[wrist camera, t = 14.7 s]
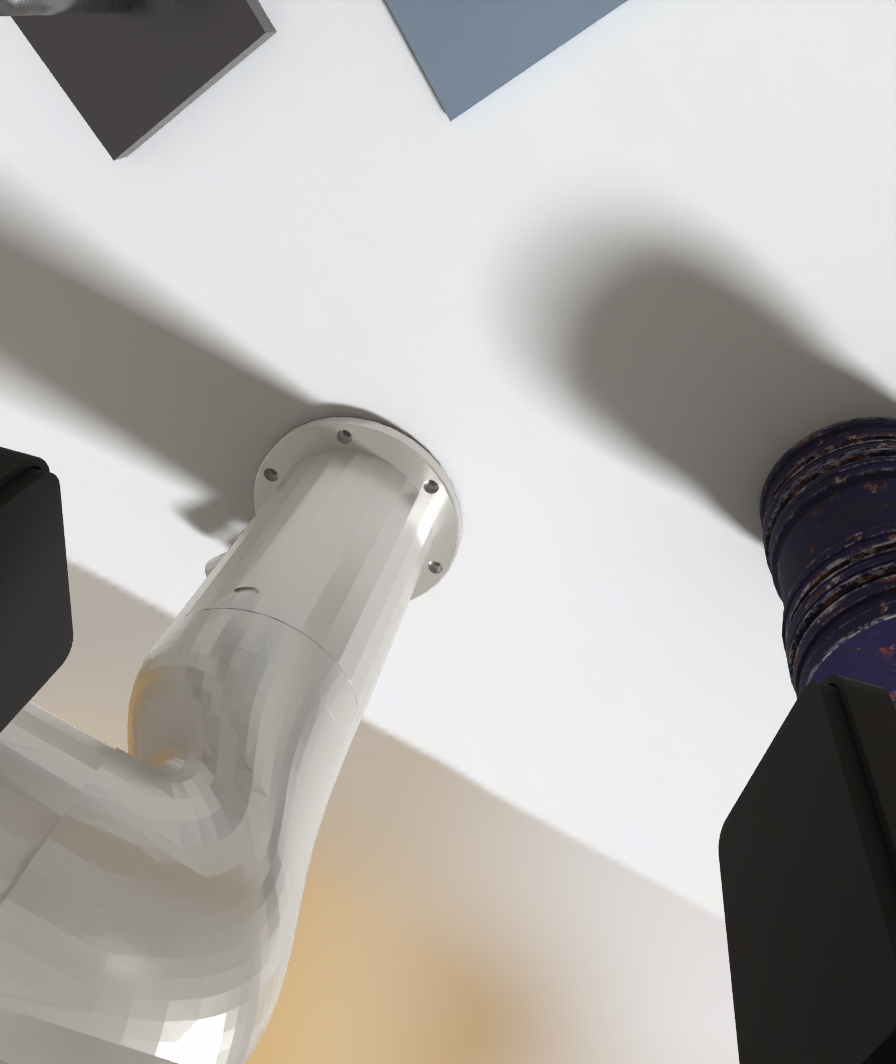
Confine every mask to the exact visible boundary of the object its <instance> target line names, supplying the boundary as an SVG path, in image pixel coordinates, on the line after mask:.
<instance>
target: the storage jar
mask: <svg viewBox="0 0 896 1064" xmlns="http://www.w3.org/2000/svg"><path fill="white" fill-rule="evenodd" d="M760 518H761V523H762V528H763V544H764V549H765V554H766V559H767V564H768V567H769V569H770V572H771V574H772V577H773V582H774V585H775V588H776V590H777V593H778V595H779V597H780V599H781V600H782V602H783V605H784V612H783V623H782V638H783V644H784V649H785V652H786V657H787V662H788V668H789V673H790V678H791V683H792V685H793V687H794V690H795V692H796V695H797V699H798V697H799V696H800V694H801V692H802V691H803V689H804V688H805V686H806V685H807V684H808V683H809V682H811V681H816V682H819V683H822V682H823V680H824V679H825V678H826V677H828V676H829V675H830V674H837V675H841V676H845V677H848V678H852V679H856V680H859V681H863V682H867V683H870V684H874V685H878V686H881V687H883V688H885V689H886V690H887V691H888V693H889V695H890V697H891V699H892V702H893V705H894V707H895V710H896V419H892V418H877V417H873V418H859V419H853V420H848V421H843V422H839V423H836V424H833V425H830V426H828V427H825V428H823V429H820V430H818V431H816V432H814V433H812V434H810V435H809V436H807V437H805V438H804V439H802V440H801V441H799V442H798V443H796V444H795V445H794V446H793V447H792V448H791V449H789V450H788V451H787V452H786V453H785V454H784V455H783V456H782V457H781V458H780V460H779V461H778V462H777V463H776V464H775V466H774V467H773V469H772V470H771V472H770V474H769V475H768V477H767V479H766V482H765V484H764V487H763V489H762V494H761V499H760Z"/></svg>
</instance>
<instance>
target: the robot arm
mask: <svg viewBox="0 0 896 1064" xmlns="http://www.w3.org/2000/svg"><path fill="white" fill-rule="evenodd" d="M346 430H347V431H348V432H349V433H348V432H347V431H346ZM350 433H351V434H350ZM431 480H433V481H435V482H433V481H431ZM253 498H254V509H255V516H254V517H253V519H252V520H251V521H250V523H249V524H248V525H247V527H246V528H245V529H244V530H243V532H242V533H241V534H240V536H239V537H238V538H237V539H236V541H235V542H234V543H233V545H232V546H231V547H230V548H229V550H228V551H227V552H225V553H223V554H221V555H219V556H217V557H215V558H213V559H211V560H209V561H208V562H207V564H206V567H205V573H206V576H207V578H206V579H205V581H204V582H203V583H202V585H201V586H200V587H199V589H198V590H197V591H196V592H195V594H194V595H193V596H192V598H191V599H190V600H189V601H188V603H187V604H186V605H185V607H184V608H183V609H182V610H181V612H180V613H179V614H178V616H177V617H176V618H175V620H174V621H173V622H172V623H171V625H170V626H169V627H168V628H167V630H166V631H165V632H164V633H163V634H162V636H161V637H160V638H159V640H158V641H157V642H156V644H155V645H154V646H153V647H152V649H151V650H150V652H149V653H148V655H147V657H146V658H145V660H144V662H143V664H142V666H141V668H140V670H139V672H138V675H137V677H136V680H135V683H134V686H133V690H132V694H131V699H130V704H129V713H128V751H129V754H128V753H126V752H124V751H122V750H120V749H118V748H116V749H114V748H113V747H111V746H109V745H107V744H106V743H104V742H102V741H100V740H98V739H97V738H95V737H93V736H91V735H89V734H88V733H86V732H84V731H82V730H81V729H79V728H77V727H75V726H74V725H72V724H70V723H68V722H67V721H65V720H63V719H61V718H59V717H58V716H56V715H54V714H52V713H51V712H49V711H47V710H45V709H43V708H42V707H40V706H38V705H36V704H34V703H33V702H31V701H30V700H31V698H32V697H33V696H34V695H35V694H36V693H37V692H38V691H39V690H40V688H41V687H42V686H43V685H44V684H45V683H46V682H47V681H48V680H49V678H50V677H51V676H52V675H53V674H54V673H55V672H56V671H57V670H58V669H59V667H60V666H61V665H62V664H63V663H64V661H65V660H66V658H67V656H68V654H69V652H70V649H71V647H72V642H73V628H72V616H71V605H70V594H69V582H68V571H67V559H66V548H65V537H64V526H63V514H62V503H61V492H60V484H59V480H58V478H57V476H56V475H55V474H53V473H50V471H49V467H48V465H47V463H46V462H45V461H44V460H43V459H41V458H39V457H36V456H32V455H28V454H25V453H21V452H17V451H14V450H10V449H6V448H3V447H0V1064H246V1063H247V1062H248V1060H249V1059H250V1057H251V1056H252V1054H253V1053H254V1051H255V1049H256V1048H257V1046H258V1044H259V1042H260V1040H261V1038H262V1036H263V1034H264V1032H265V1030H266V1028H267V1025H268V1023H269V1020H270V1018H271V1015H272V1013H273V1010H274V1007H275V1005H276V1002H277V1000H278V997H279V994H280V991H281V988H282V985H283V981H284V978H285V974H286V970H287V966H288V962H289V958H290V955H291V950H292V945H293V940H294V936H295V931H296V926H297V921H298V916H299V911H300V906H301V901H302V896H303V891H304V887H305V882H306V878H307V873H308V869H309V864H310V860H311V856H312V853H313V849H314V845H315V842H316V838H317V834H318V831H319V828H320V825H321V822H322V819H323V816H324V813H325V810H326V807H327V804H328V801H329V798H330V795H331V793H332V790H333V788H334V785H335V782H336V779H337V777H338V774H339V771H340V769H341V767H342V764H343V762H344V759H345V757H346V754H347V752H348V749H349V747H350V744H351V742H352V739H353V737H354V735H355V733H356V730H357V727H358V725H359V723H360V720H361V718H362V715H363V713H364V711H365V708H366V706H367V703H368V701H369V698H370V696H371V693H372V691H373V688H374V686H375V684H376V681H377V679H378V676H379V674H380V671H381V669H382V666H383V664H384V661H385V659H386V657H387V654H388V652H389V649H390V647H391V644H392V642H393V639H394V637H395V635H396V632H397V630H398V627H399V625H400V622H401V620H402V617H403V615H404V612H405V610H406V608H407V605H408V603H409V601H410V600H413V599H415V598H417V597H419V596H421V595H423V594H425V593H427V592H428V591H429V590H431V589H432V588H433V587H434V586H436V585H437V584H438V583H439V582H440V581H441V580H442V578H443V577H444V576H445V575H446V573H447V572H448V571H449V570H450V567H451V565H452V563H453V561H454V559H455V556H456V554H457V551H458V547H459V544H460V541H461V533H462V516H461V509H460V504H459V501H458V498H457V495H456V492H455V490H454V487H453V485H452V483H451V482H450V480H449V478H448V477H447V475H446V473H445V471H444V470H443V469H442V467H441V466H440V465H439V464H438V463H437V462H436V460H435V459H434V458H433V457H432V456H431V455H430V453H428V452H427V451H426V450H425V449H423V448H422V447H421V446H420V445H419V444H417V443H416V442H415V441H414V440H412V439H411V438H409V437H407V436H406V435H404V434H402V433H400V432H399V431H397V430H395V429H393V428H390V427H388V426H385V425H382V424H380V423H377V422H374V421H370V420H365V419H359V418H354V417H330V418H324V419H319V420H314V421H311V422H309V423H306V424H304V425H301V426H299V427H296V428H295V429H294V430H292V431H291V432H289V433H288V434H286V435H285V436H283V437H282V438H281V439H280V440H279V441H278V443H277V444H276V445H275V446H274V447H273V448H272V449H271V450H270V452H269V453H268V454H267V456H266V457H265V459H264V460H263V462H262V463H261V466H260V468H259V471H258V473H257V476H256V479H255V486H254V494H253ZM719 862H720V872H721V882H722V892H723V902H724V912H725V922H726V932H727V941H728V952H729V962H730V972H731V982H732V992H733V1002H734V1012H735V1022H736V1031H737V1042H738V1052H739V1062H740V1064H896V710H895V707H894V705H893V702H892V699H891V697H890V695H889V693H888V691H887V690H886V689H885V688H883V687H881V686H878V685H874V684H870V683H867V682H863V681H859V680H856V679H852V678H848V677H845V676H841V675H837V674H830V675H829V676H828V677H826V678H825V679H824V680H823V682H822V683H819V682H816V681H811V682H809V683H808V684H807V685H806V686H805V688H804V689H803V691H802V692H801V694H800V696H799V697H798V699H797V701H796V702H795V704H794V706H793V707H792V709H791V711H790V712H789V714H788V716H787V717H786V719H785V721H784V723H783V724H782V726H781V728H780V729H779V731H778V733H777V734H776V736H775V738H774V739H773V741H772V743H771V744H770V746H769V748H768V749H767V751H766V753H765V755H764V756H763V758H762V760H761V761H760V763H759V765H758V766H757V768H756V770H755V771H754V773H753V775H752V776H751V778H750V780H749V781H748V783H747V785H746V787H745V788H744V790H743V792H742V793H741V795H740V797H739V798H738V800H737V802H736V803H735V805H734V807H733V808H732V810H731V812H730V813H729V815H728V817H727V819H726V820H725V822H724V824H723V827H722V830H721V834H720V839H719Z"/></svg>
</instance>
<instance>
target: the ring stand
mask: <svg viewBox="0 0 896 1064" xmlns="http://www.w3.org/2000/svg"><path fill="white" fill-rule="evenodd" d="M0 16H11V17H12V19H13V20H14V21H15V23H16V24H17V26H18V27H19V28H20V30H21V31H22V33H23V34H24V35H25V37H26V38H27V40H28V41H29V42H30V44H31V45H32V47H33V48H34V49H35V51H36V52H37V54H38V55H39V56H40V58H41V59H42V61H43V62H44V63H45V65H46V66H47V68H48V69H49V70H50V72H51V73H52V75H53V76H54V77H55V79H56V80H57V82H58V83H59V84H60V86H61V87H62V89H63V90H64V91H65V93H66V94H67V96H68V97H69V98H70V100H71V101H72V103H73V104H74V105H75V107H76V108H77V110H78V111H79V112H80V114H81V115H82V117H83V118H84V119H85V121H86V122H87V124H88V125H89V126H90V128H91V129H92V131H93V132H94V133H95V135H96V136H97V138H98V139H99V140H100V142H101V143H102V145H103V146H104V147H105V149H106V150H107V152H108V153H109V154H110V156H111V157H112V159H113V160H117V159H121V158H124V157H127V156H128V155H130V154H131V153H132V152H133V151H134V150H136V149H137V148H138V147H139V146H140V145H142V144H143V143H144V142H145V141H146V140H148V139H149V138H150V137H151V136H152V135H153V134H155V133H156V132H157V131H158V130H159V129H161V128H162V127H163V126H164V125H165V124H167V123H168V122H169V121H170V120H171V119H173V118H174V117H175V116H176V115H177V114H179V113H180V112H181V111H182V110H183V109H185V108H186V107H187V106H188V105H189V104H191V103H192V102H193V101H194V100H195V99H197V98H198V97H199V96H200V95H201V94H203V93H204V92H205V91H206V90H207V89H209V88H210V87H211V86H212V85H213V84H215V83H216V82H217V81H218V80H219V79H221V78H222V77H223V76H224V75H225V74H227V73H228V72H229V71H230V70H231V69H233V68H234V67H235V66H236V65H237V64H239V63H240V62H241V61H242V60H243V59H245V58H246V57H247V56H248V55H249V54H251V53H252V52H253V51H254V50H255V49H257V48H258V47H259V46H260V45H261V44H263V43H264V42H265V41H266V40H267V39H269V38H270V37H271V36H272V35H273V34H274V33H276V30H275V29H274V27H273V25H272V24H271V22H270V20H269V19H268V17H267V15H266V14H265V12H264V10H263V9H262V7H261V5H260V3H259V2H258V0H0Z"/></svg>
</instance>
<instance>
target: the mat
mask: <svg viewBox="0 0 896 1064" xmlns="http://www.w3.org/2000/svg"><path fill="white" fill-rule="evenodd" d="M385 1H386V3H387V5H388V7H389V9H390V11H391V12H392V14H393V16H394V18H395V20H396V22H397V24H398V25H399V27H400V29H401V31H402V33H403V35H404V36H405V38H406V40H407V42H408V44H409V46H410V48H411V49H412V51H413V53H414V55H415V57H416V59H417V60H418V62H419V64H420V66H421V68H422V70H423V72H424V73H425V75H426V77H427V79H428V81H429V83H430V85H431V86H432V88H433V90H434V92H435V94H436V96H437V97H438V99H439V101H440V103H441V105H442V107H443V109H444V110H445V112H446V114H447V116H448V118H449V120H450V121H451V120H453V119H455V118H456V117H457V116H459V115H460V114H462V113H463V112H465V111H466V110H468V109H469V108H471V107H472V106H474V105H475V104H476V103H478V102H479V101H481V100H482V99H484V98H485V97H487V96H488V95H490V94H491V93H493V92H494V91H496V90H497V89H498V88H500V87H501V86H503V85H504V84H506V83H507V82H509V81H510V80H512V79H513V78H515V77H516V76H517V75H519V74H520V73H522V72H523V71H525V70H526V69H528V68H529V67H531V66H532V65H534V64H535V63H536V62H538V61H539V60H541V59H542V58H544V57H545V56H547V55H548V54H550V53H551V52H553V51H554V50H555V49H557V48H558V47H560V46H561V45H563V44H564V43H566V42H567V41H569V40H570V39H572V38H573V37H574V36H576V35H577V34H579V33H580V32H582V31H583V30H585V29H586V28H588V27H589V26H591V25H592V24H594V23H595V22H596V21H598V20H599V19H601V18H602V17H604V16H605V15H607V14H608V13H610V12H611V11H613V10H614V9H615V8H617V7H618V6H620V5H621V4H623V3H624V2H626V1H627V0H385Z"/></svg>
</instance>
